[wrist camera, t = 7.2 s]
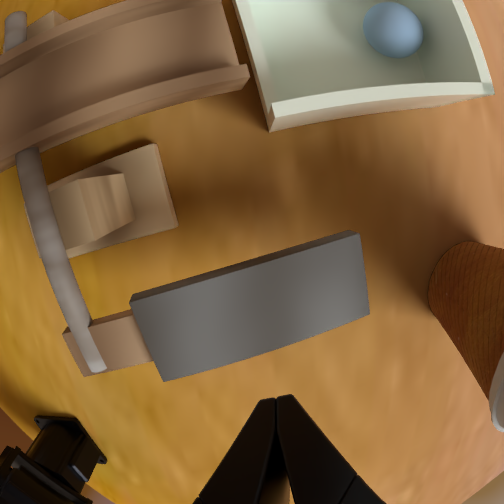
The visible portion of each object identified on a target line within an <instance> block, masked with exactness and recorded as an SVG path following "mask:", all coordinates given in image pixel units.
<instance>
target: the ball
mask: <svg viewBox="0 0 504 504" xmlns="http://www.w3.org/2000/svg"><path fill="white" fill-rule="evenodd" d="M363 32H364V35H365V37H366V39H367V41H368V43H369V44H370V45H371V46H372V47H373V48H374V49H375V50H376V51H378V52H379V53H381V54H383V55H385V56H387V57H391V58H405V57H408V56H410V55H412V54H414V53H415V52H416V51H417V50H418V49H419V48H420V46H421V44H422V42H423V27H422V24H421V22H420V20H419V19H418V17H417V16H416V15H415V14H414V13H413V12H412V11H411V10H410V9H409V8H407V7H406V6H404V5H401V4H399V3H395V2H382V3H379V4H376V5H374V6H373V7H371V8H370V9H369V10H368V11H367V13H366V14H365V17H364V20H363Z"/></svg>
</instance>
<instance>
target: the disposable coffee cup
mask: <svg viewBox="0 0 504 504" xmlns="http://www.w3.org/2000/svg"><path fill="white" fill-rule="evenodd" d="M428 300H429V306H430V308H431V310H432V312H433V314H434V315H435V316H436V318H437V319H438V321H439V322H440V323H441V325H442V327H443V328H444V329H445V331H446V332H447V334H448V335H449V337H450V338H451V340H452V341H453V343H454V345H455V346H456V348H457V349H458V351H459V352H460V354H461V355H462V357H463V359H464V360H465V362H466V364H467V365H468V367H469V369H470V370H471V372H472V373H473V375H474V377H475V378H476V380H477V382H478V383H479V385H480V387H481V389H482V391H483V392H484V394H485V396H486V397H487V399H488V401H489V407H490V411H491V420H492V422H493V424H494V426H495V427H496V429H498V430H499V431H501V432H504V249H503V250H502V249H501V248H496V247H493V246H489V245H485V244H480V243H476V242H470V241H467V242H462V243H459V244H457V245H455V246H454V247H452V248H451V249H450V250H449V251H447V252H446V253H445V254H444V256H443V257H442V258H441V259H440V260H439V262H438V263H437V265H436V267H435V269H434V271H433V273H432V276H431V278H430V283H429V289H428Z"/></svg>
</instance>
